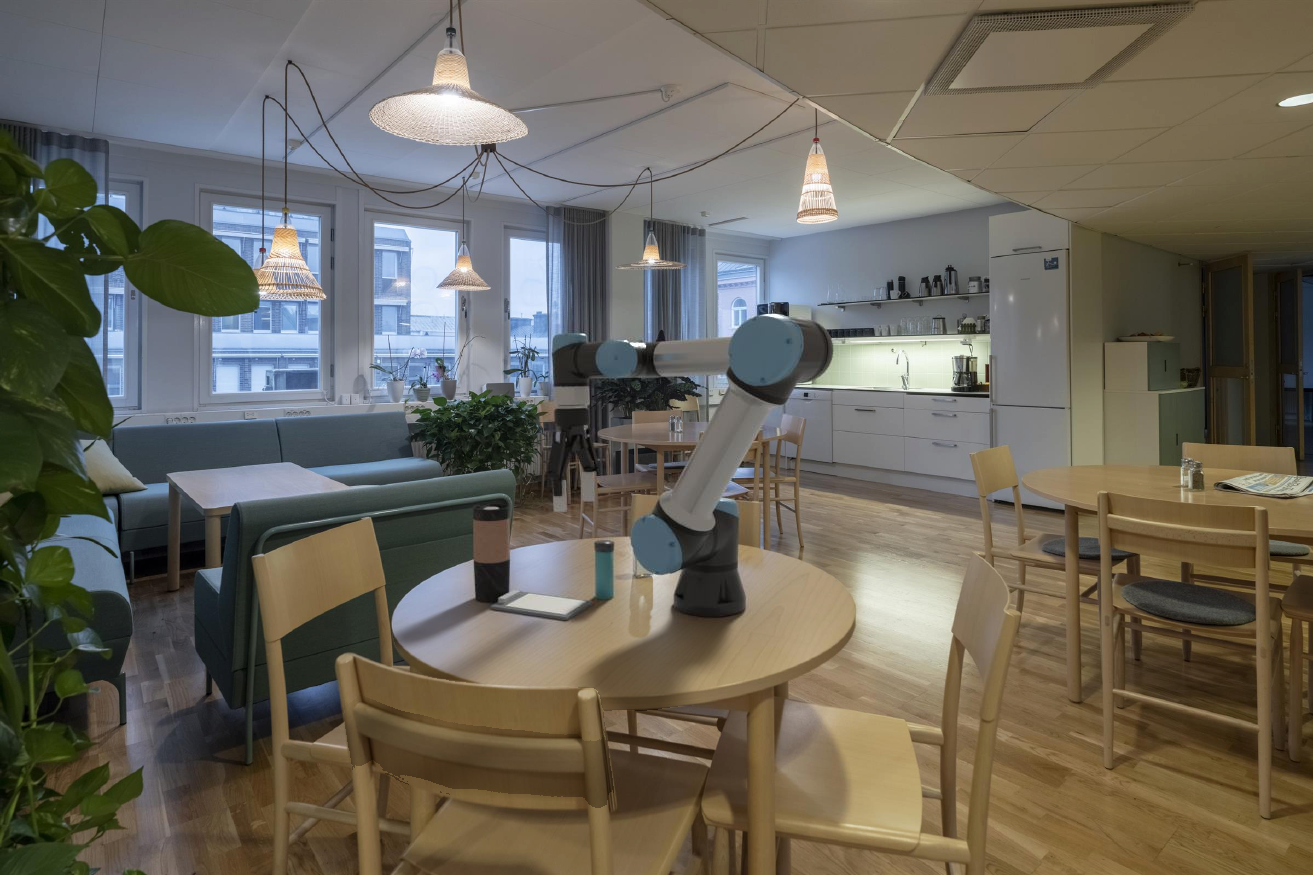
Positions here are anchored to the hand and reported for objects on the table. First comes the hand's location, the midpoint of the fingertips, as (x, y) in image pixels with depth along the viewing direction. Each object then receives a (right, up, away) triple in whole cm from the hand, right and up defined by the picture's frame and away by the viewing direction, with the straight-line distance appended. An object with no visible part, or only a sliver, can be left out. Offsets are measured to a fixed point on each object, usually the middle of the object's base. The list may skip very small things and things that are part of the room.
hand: (575, 506), depth 157 cm
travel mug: (-18, -20, +1) cm, 27 cm away
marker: (+6, -20, +2) cm, 21 cm away
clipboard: (-6, -20, -4) cm, 22 cm away
